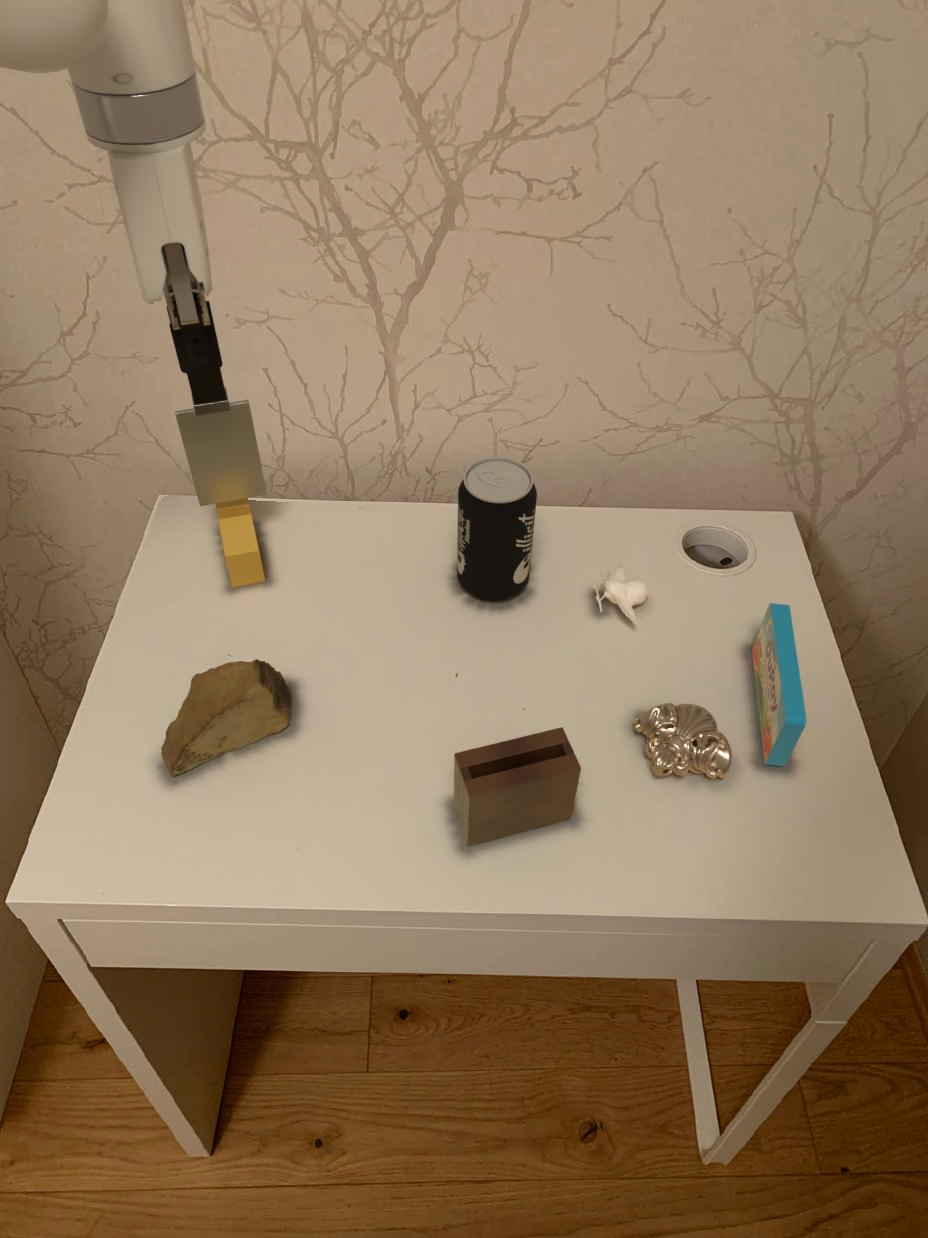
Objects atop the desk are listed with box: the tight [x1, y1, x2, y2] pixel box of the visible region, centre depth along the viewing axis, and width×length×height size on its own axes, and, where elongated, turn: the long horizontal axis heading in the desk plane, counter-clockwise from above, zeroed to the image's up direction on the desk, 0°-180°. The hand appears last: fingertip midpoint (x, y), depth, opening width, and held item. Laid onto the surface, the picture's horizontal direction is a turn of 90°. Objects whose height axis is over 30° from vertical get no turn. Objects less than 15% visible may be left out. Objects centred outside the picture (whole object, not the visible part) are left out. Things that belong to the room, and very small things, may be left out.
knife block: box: [453, 727, 582, 848], centre depth 65 cm, size 8×4×7 cm, turn 107°
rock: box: [160, 658, 292, 777], centre depth 70 cm, size 11×9×10 cm
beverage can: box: [456, 456, 538, 602], centre depth 79 cm, size 7×7×12 cm
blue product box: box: [751, 602, 807, 768], centre depth 72 cm, size 12×2×6 cm, turn 173°
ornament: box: [633, 702, 732, 780], centre depth 70 cm, size 8×7×4 cm
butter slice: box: [214, 498, 252, 520], centre depth 86 cm, size 3×2×4 cm, turn 107°
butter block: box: [217, 513, 267, 589], centre depth 83 cm, size 3×5×4 cm, turn 17°
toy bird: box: [592, 561, 650, 628], centre depth 80 cm, size 8×5×5 cm, turn 4°
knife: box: [174, 294, 268, 507], centre depth 75 cm, size 6×2×20 cm, turn 107°
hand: (200, 358), depth 72 cm, fingers closed on knife, 1 cm apart
